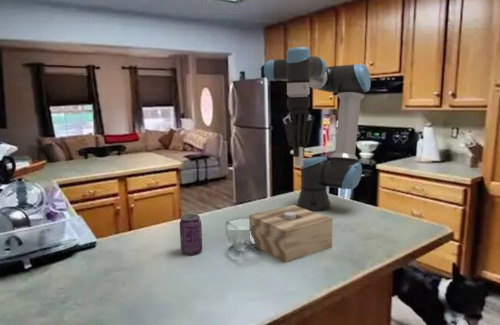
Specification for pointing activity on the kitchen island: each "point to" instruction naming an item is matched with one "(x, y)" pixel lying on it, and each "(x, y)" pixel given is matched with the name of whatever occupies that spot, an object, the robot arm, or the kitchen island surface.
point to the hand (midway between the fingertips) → (299, 165)
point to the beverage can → (190, 234)
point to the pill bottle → (289, 216)
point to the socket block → (291, 232)
